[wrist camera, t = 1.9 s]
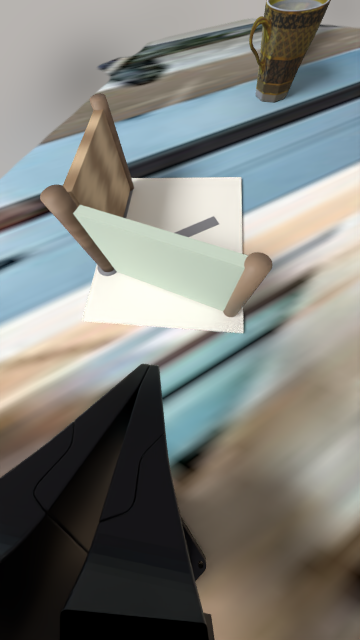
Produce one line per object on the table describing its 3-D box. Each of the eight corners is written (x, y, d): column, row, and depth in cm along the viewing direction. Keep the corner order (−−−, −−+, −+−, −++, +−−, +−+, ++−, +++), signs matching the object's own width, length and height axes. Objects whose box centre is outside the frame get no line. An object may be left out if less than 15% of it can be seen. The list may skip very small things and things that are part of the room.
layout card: (242, 333, 22) (243, 332, 21) (83, 321, 24) (81, 320, 24) (240, 179, 30) (241, 176, 30) (121, 180, 32) (120, 177, 32)
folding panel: (115, 274, 25) (69, 214, 16) (122, 263, 26) (80, 199, 16) (235, 319, 22) (268, 278, 12) (240, 306, 22) (275, 256, 13)
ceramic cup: (278, 76, 39) (306, -20, 29) (305, 97, 36) (346, -3, 26) (227, 94, 38) (239, 2, 29) (250, 117, 35) (271, 22, 26)
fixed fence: (114, 272, 26) (61, 203, 15) (99, 272, 26) (36, 203, 15) (136, 184, 31) (107, 87, 21) (123, 184, 31) (88, 89, 21)
